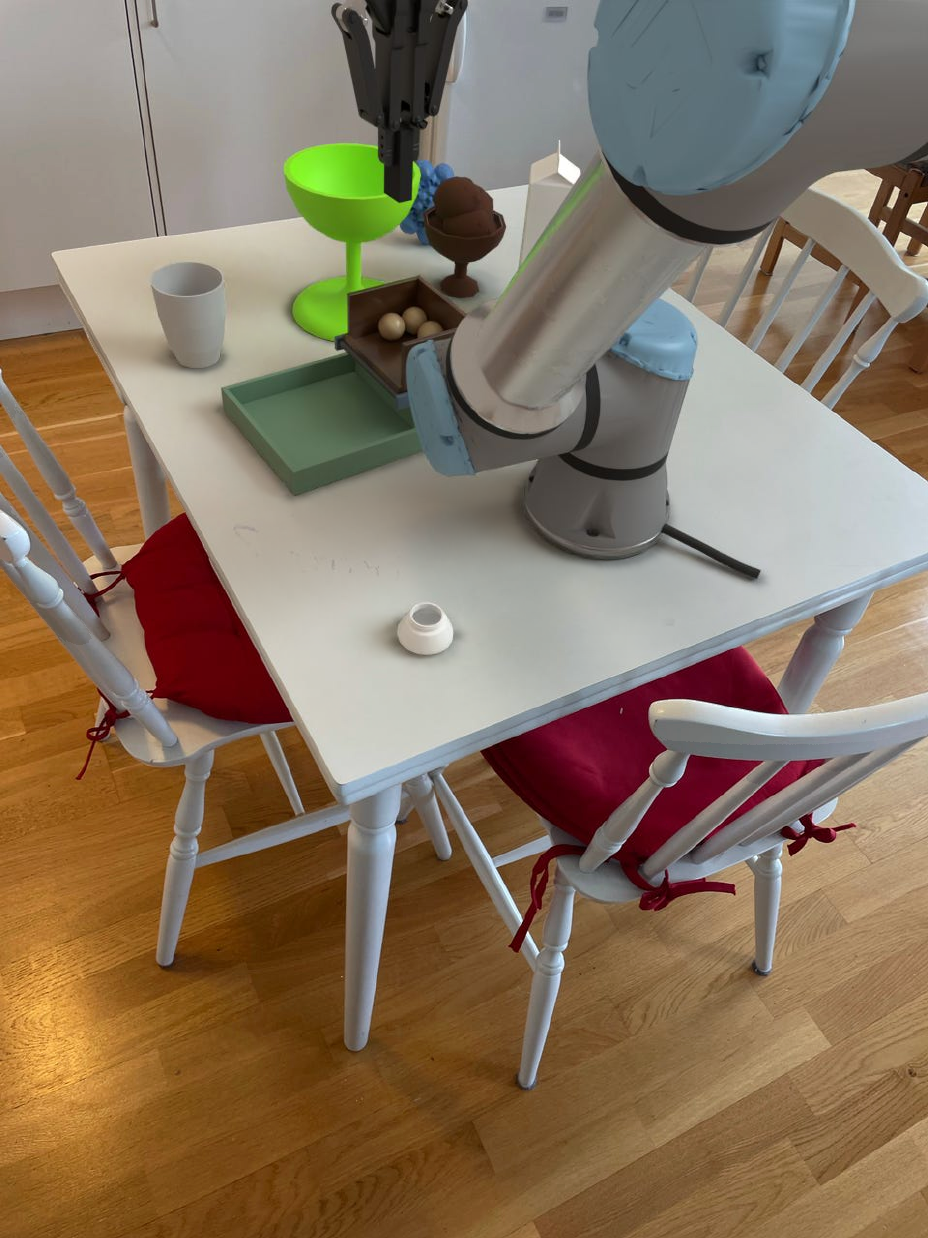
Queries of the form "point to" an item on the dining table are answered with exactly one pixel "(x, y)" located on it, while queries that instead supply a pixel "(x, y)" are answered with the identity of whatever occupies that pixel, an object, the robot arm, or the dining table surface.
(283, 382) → the tray
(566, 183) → the milk
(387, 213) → the wineglass
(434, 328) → the wooden ball
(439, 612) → the lidless jar
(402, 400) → the stand
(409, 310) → the wooden ball
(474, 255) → the ice cream bowl
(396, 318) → the wooden ball
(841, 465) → the dining table surface
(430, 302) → the brown wooden box
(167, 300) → the cup
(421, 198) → the grapes
